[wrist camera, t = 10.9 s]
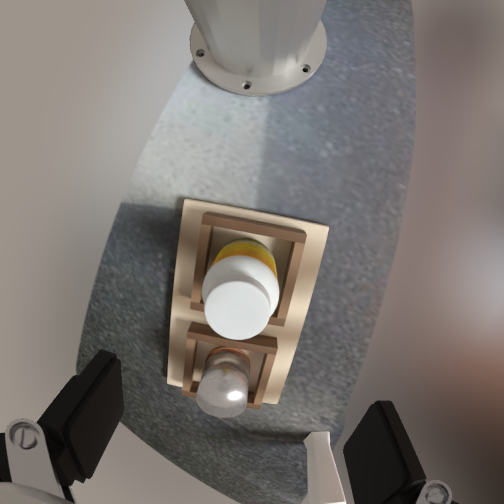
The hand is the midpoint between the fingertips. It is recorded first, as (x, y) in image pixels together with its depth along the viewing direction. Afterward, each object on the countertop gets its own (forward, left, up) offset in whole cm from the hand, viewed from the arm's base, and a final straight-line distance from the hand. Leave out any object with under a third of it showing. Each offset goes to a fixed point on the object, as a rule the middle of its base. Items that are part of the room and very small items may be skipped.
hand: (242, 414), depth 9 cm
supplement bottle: (0, -1, -18) cm, 18 cm away
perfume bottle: (+24, +13, -19) cm, 33 cm away
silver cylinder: (+11, -1, -18) cm, 21 cm away
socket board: (+6, -1, -19) cm, 20 cm away
